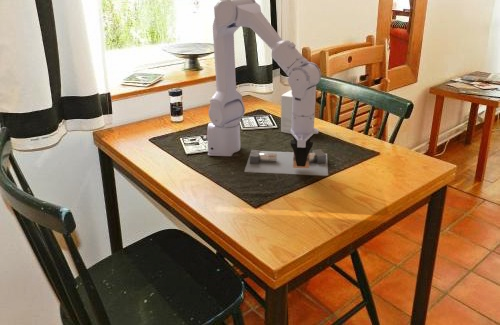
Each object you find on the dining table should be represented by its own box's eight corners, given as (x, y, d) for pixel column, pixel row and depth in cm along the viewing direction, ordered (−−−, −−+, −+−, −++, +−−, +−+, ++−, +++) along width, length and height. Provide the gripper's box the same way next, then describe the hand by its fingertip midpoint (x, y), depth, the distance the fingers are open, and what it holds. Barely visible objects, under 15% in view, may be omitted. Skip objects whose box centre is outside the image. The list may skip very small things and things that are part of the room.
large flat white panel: (244, 175, 120) (244, 171, 120) (251, 153, 133) (251, 150, 132) (327, 179, 118) (328, 175, 117) (326, 156, 130) (327, 153, 130)
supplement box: (310, 129, 150) (311, 92, 145) (300, 136, 145) (301, 98, 139) (290, 125, 154) (291, 89, 148) (280, 132, 148) (280, 94, 143)
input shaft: (249, 167, 125) (249, 156, 123) (251, 160, 128) (251, 149, 127) (275, 168, 124) (275, 157, 122) (277, 161, 128) (277, 150, 126)
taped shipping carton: (293, 167, 117) (293, 149, 115) (293, 161, 121) (294, 143, 119) (308, 168, 117) (309, 150, 115) (309, 161, 121) (310, 144, 118)
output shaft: (300, 169, 123) (300, 158, 121) (295, 162, 127) (296, 151, 125) (325, 166, 124) (326, 155, 123) (320, 160, 128) (320, 149, 127)
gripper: (319, 123, 106) (316, 175, 112) (319, 104, 119) (316, 151, 125) (289, 122, 107) (287, 173, 113) (292, 103, 120) (291, 150, 126)
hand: (301, 161), depth 119 cm, fingers closed on taped shipping carton, 4 cm apart
